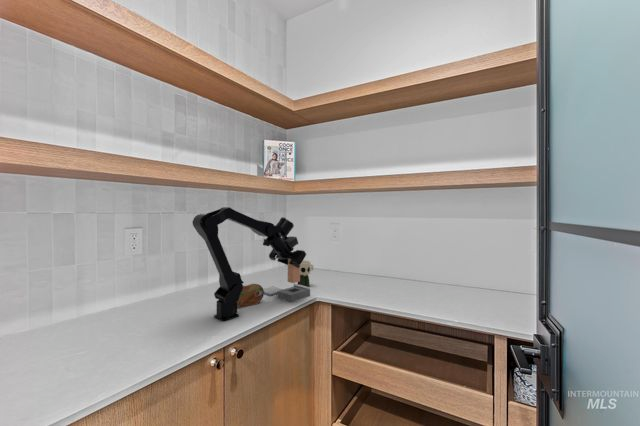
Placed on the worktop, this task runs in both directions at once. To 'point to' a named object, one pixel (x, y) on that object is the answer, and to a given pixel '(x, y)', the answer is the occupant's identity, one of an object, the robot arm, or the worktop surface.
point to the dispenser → (294, 293)
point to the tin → (250, 295)
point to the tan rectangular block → (293, 273)
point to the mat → (271, 291)
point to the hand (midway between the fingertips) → (296, 266)
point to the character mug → (305, 273)
